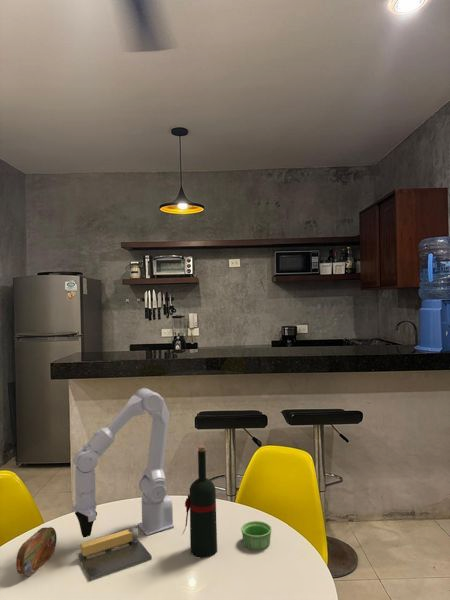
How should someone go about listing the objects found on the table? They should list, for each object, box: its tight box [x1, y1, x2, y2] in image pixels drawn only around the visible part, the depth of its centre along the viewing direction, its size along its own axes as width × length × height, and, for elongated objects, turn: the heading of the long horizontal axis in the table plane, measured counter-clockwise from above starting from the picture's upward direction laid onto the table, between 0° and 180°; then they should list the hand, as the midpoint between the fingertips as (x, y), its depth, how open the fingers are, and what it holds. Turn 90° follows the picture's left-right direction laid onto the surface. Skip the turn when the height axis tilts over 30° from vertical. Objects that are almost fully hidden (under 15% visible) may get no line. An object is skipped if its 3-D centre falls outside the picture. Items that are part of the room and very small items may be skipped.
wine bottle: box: [181, 445, 218, 559], centre depth 127 cm, size 8×10×30 cm
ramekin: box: [240, 520, 272, 551], centre depth 131 cm, size 9×9×4 cm
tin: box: [15, 526, 58, 577], centre depth 122 cm, size 15×3×8 cm, turn 168°
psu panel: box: [77, 538, 153, 582], centre depth 124 cm, size 17×13×2 cm
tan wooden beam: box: [80, 527, 139, 556], centre depth 128 cm, size 16×3×2 cm, turn 122°
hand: (86, 535), depth 131 cm, fingers closed
